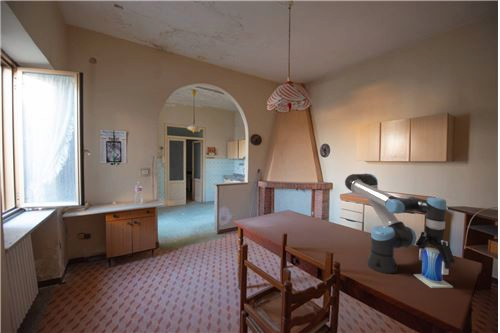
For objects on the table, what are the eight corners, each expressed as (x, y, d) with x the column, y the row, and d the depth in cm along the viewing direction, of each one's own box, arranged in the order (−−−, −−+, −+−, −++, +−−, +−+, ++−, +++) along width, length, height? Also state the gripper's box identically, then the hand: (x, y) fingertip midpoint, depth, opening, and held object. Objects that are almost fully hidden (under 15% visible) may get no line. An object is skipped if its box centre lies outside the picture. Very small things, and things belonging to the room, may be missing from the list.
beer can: (422, 272, 117) (424, 245, 116) (443, 279, 111) (444, 250, 110) (420, 279, 111) (421, 249, 110) (441, 286, 105) (443, 255, 104)
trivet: (431, 288, 105) (431, 286, 105) (413, 275, 116) (413, 274, 116) (452, 287, 105) (452, 286, 105) (433, 275, 116) (433, 273, 116)
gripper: (467, 237, 97) (464, 281, 98) (422, 219, 122) (420, 255, 123) (451, 237, 97) (448, 281, 98) (409, 219, 121) (407, 255, 123)
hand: (432, 266), depth 110 cm, fingers open, 13 cm apart
